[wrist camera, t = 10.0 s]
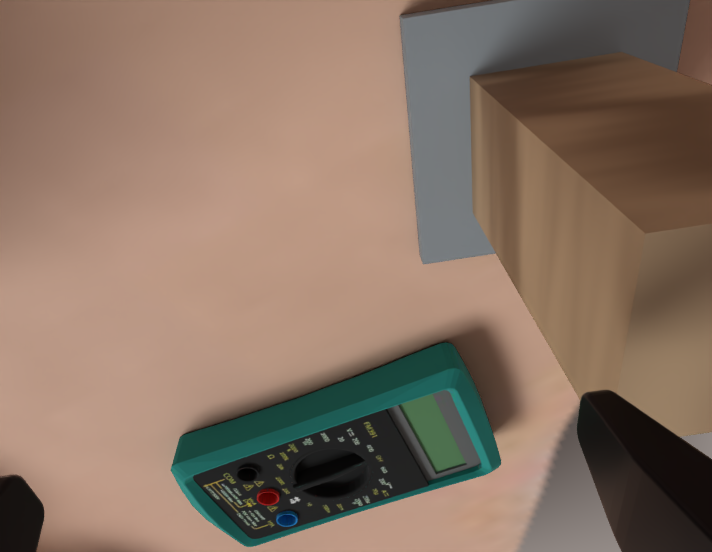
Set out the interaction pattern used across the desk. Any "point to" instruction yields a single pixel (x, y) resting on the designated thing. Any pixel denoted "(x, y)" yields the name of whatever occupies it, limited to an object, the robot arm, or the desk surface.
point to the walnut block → (606, 222)
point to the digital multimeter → (340, 449)
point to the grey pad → (494, 54)
